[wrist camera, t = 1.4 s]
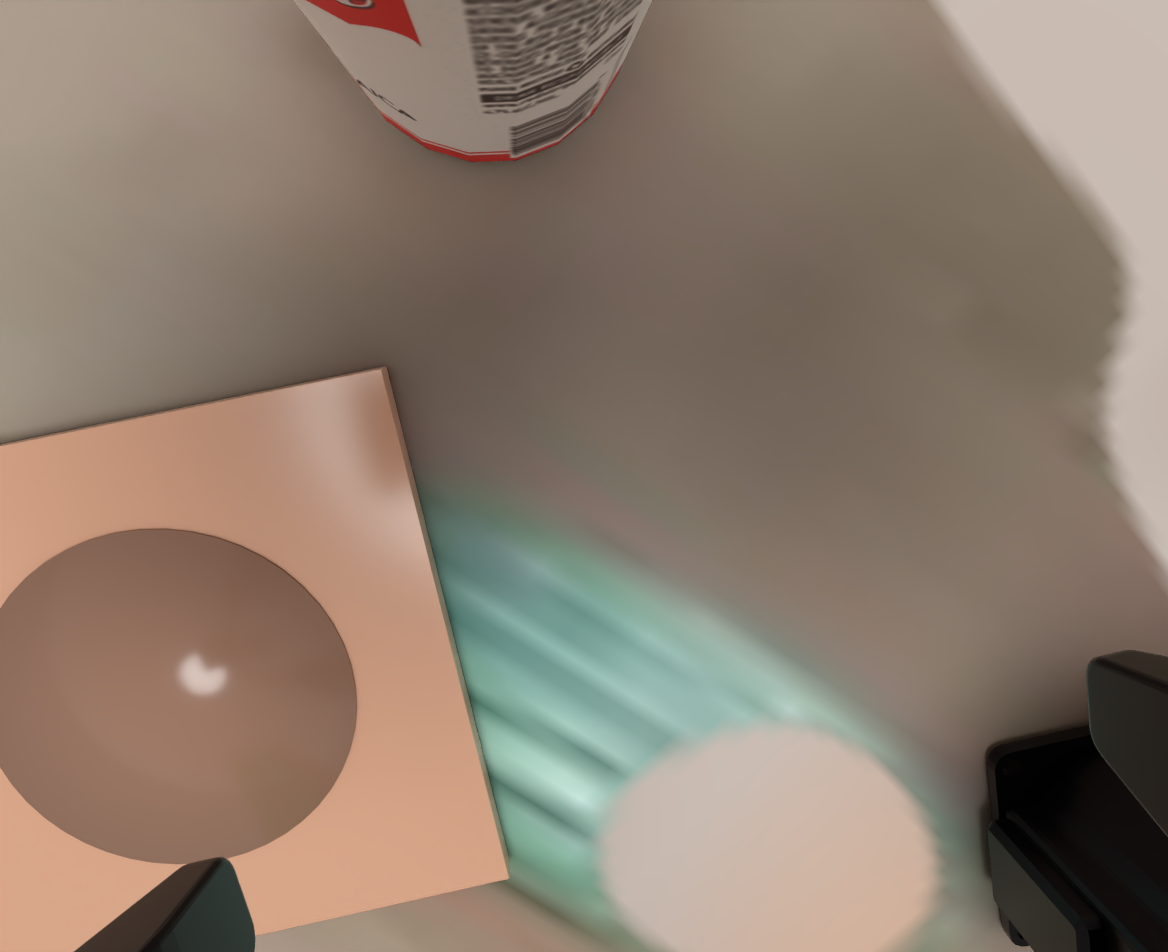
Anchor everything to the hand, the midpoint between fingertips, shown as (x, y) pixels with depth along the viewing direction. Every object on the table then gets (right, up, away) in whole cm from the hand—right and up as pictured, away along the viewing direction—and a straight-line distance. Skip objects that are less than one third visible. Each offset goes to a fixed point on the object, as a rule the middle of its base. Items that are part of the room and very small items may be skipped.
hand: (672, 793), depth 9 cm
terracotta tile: (-11, -2, +13) cm, 17 cm away
